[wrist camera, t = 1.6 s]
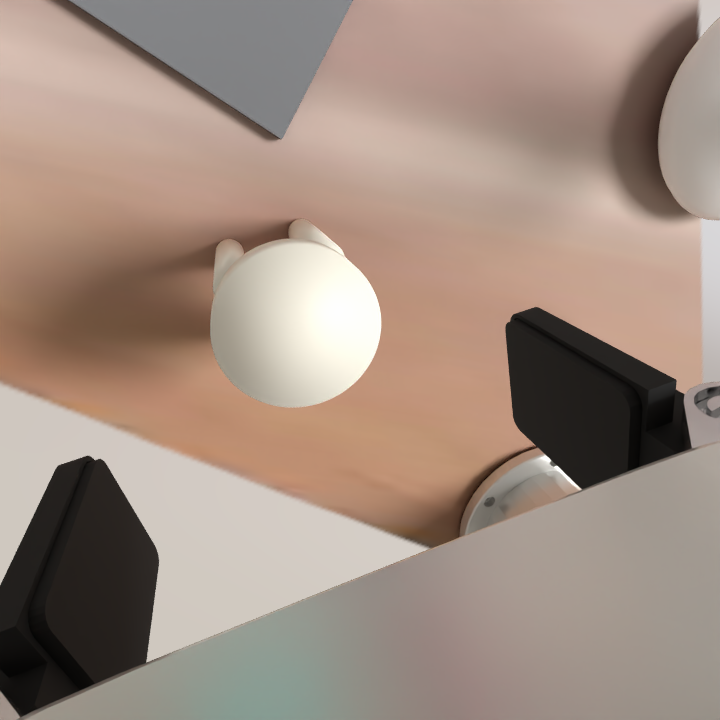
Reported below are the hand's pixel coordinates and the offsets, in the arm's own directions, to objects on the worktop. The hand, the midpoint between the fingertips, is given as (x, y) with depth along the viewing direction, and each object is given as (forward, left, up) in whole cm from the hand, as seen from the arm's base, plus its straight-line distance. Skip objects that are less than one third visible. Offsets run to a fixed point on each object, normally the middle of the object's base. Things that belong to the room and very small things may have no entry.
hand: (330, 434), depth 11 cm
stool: (-1, 0, -16) cm, 16 cm away
